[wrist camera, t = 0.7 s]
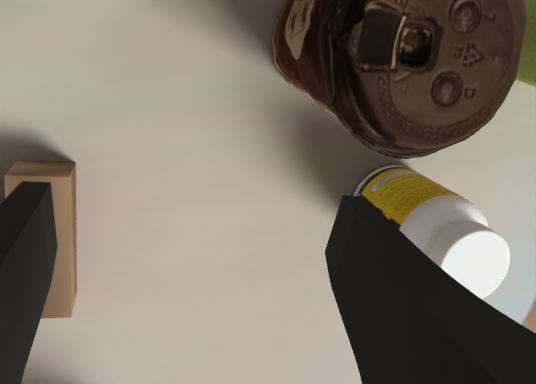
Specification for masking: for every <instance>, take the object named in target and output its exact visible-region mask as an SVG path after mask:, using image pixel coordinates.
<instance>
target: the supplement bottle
mask: <svg viewBox="0 0 536 384" xmlns="http://www.w3.org/2000/svg"><path fill="white" fill-rule="evenodd" d="M354 196H365V197H366V198H367V199H368V200H369V201H370V202H371V203H373V204H374V205H375V206H376V207H377V208H378V209H379V210H380V211H381V212H382V213H383V214H384V215H385V216H386V217H387V218H388V219H389V220H390V221H391V222H392V223H393V224H394V225H395V226H396V227H397V228H398V229H399V230H400V231H401V232H402V233H403V234H404V235H405V236H406V237H407V238H408V239H409V240H410V241H412V242H413V243H414V244H415V245H416V246H417V247H418V248H419V249H420V250H421V251H422V252H423V253H424V254H426V255H427V256H428V257H429V258H430V259H431V260H432V261H433V262H435V263H436V264H437V265H438V266H439V267H441V268H442V269H443V270H444V271H445V272H446V273H448V274H449V275H450V276H451V277H452V278H454V279H455V280H456V281H458V282H459V283H460V284H461V285H463V286H464V287H465V288H467V289H468V290H470V291H471V292H472V293H474V294H475V295H476V296H478V297H479V298H480V299H482V298H484V297H486V296H487V295H489V294H490V293H492V292H493V291H494V290H495V289H496V288H497V287H498V286H499V285H500V283H501V282H502V280H503V279H504V277H505V275H506V273H507V270H508V267H509V261H510V253H509V248H508V245H507V243H506V242H505V240H504V239H503V238H502V237H501V236H500V235H499V234H498V233H496V232H494V231H493V230H491V229H490V228H488V225H487V222H486V219H485V217H484V215H483V214H482V212H481V211H480V210H479V209H478V208H477V207H476V206H475V205H474V204H473V203H471V202H470V201H468V200H467V199H465V198H463V197H461V196H460V195H458V194H456V193H454V192H452V191H450V190H449V189H447V188H445V187H443V186H441V185H439V184H438V183H436V182H434V181H432V180H430V179H428V178H426V177H425V176H423V175H421V174H419V173H417V172H416V171H414V170H412V169H409V168H407V167H404V166H398V165H391V166H385V167H382V168H379V169H377V170H375V171H373V172H372V173H370V174H369V175H368V176H367V177H366V178H365V179H364V180H363V181H362V182H361V183H360V184H359V186H358V187H357V189H356V191H355V193H354Z"/></svg>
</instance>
